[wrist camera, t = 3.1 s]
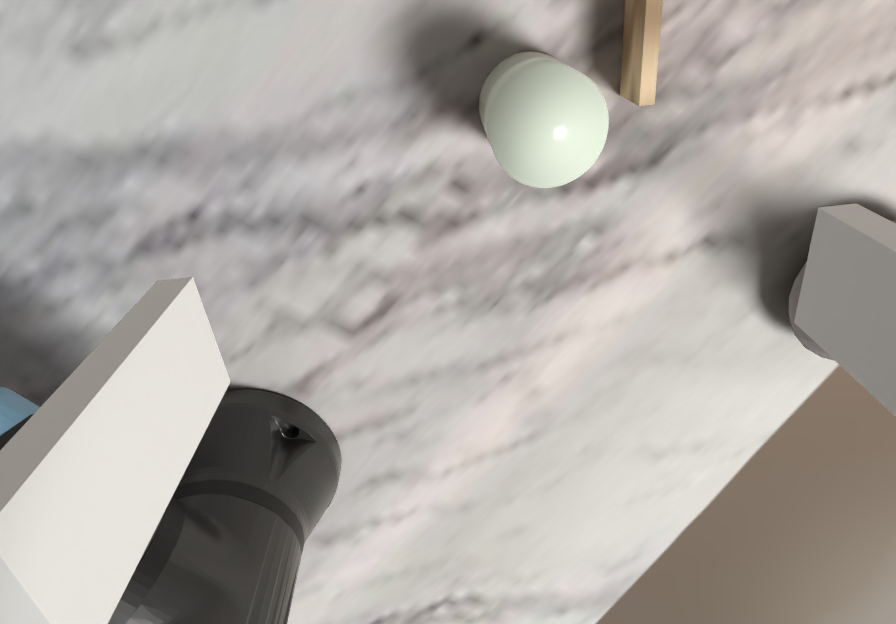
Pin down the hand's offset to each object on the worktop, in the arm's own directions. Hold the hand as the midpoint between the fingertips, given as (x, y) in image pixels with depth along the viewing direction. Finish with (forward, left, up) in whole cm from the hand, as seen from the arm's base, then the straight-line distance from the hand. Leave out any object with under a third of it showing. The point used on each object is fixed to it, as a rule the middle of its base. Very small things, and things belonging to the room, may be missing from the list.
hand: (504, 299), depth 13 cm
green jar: (-1, -5, -29) cm, 29 cm away
